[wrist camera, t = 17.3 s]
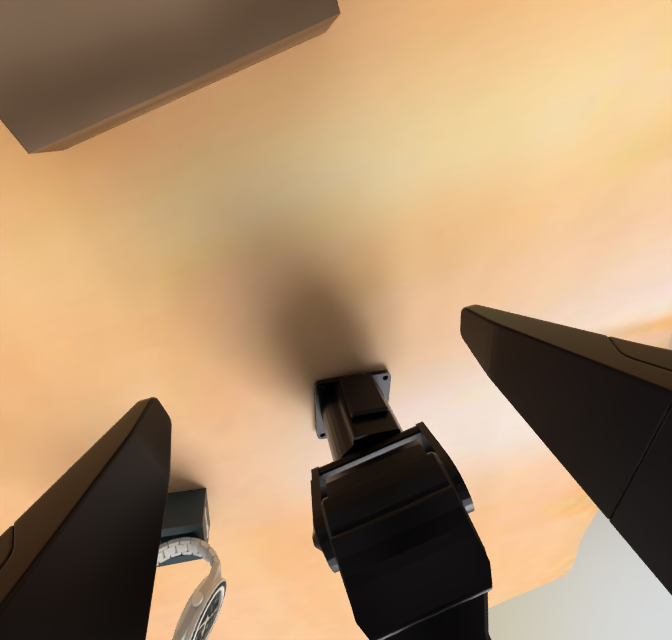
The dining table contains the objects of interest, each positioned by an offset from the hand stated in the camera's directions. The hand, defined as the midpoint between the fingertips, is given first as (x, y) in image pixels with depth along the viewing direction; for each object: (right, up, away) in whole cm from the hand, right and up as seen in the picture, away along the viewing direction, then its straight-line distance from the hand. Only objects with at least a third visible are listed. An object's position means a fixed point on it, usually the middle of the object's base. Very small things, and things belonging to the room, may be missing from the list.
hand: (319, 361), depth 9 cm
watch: (-14, -16, +21) cm, 30 cm away
